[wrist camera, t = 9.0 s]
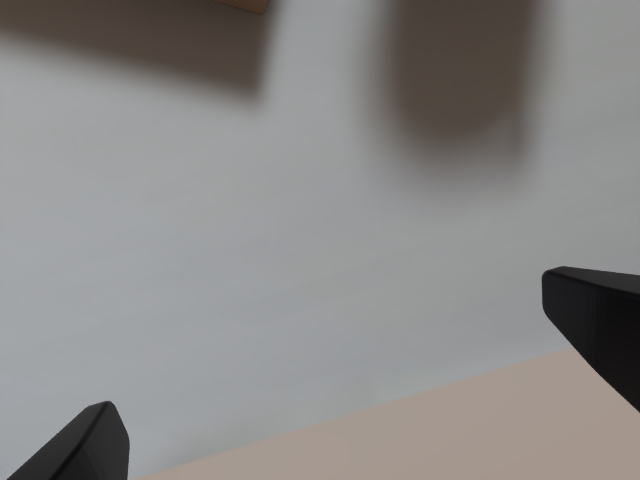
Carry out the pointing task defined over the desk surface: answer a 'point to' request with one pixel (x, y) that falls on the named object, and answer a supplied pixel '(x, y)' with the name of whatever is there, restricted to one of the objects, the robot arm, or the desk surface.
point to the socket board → (247, 4)
